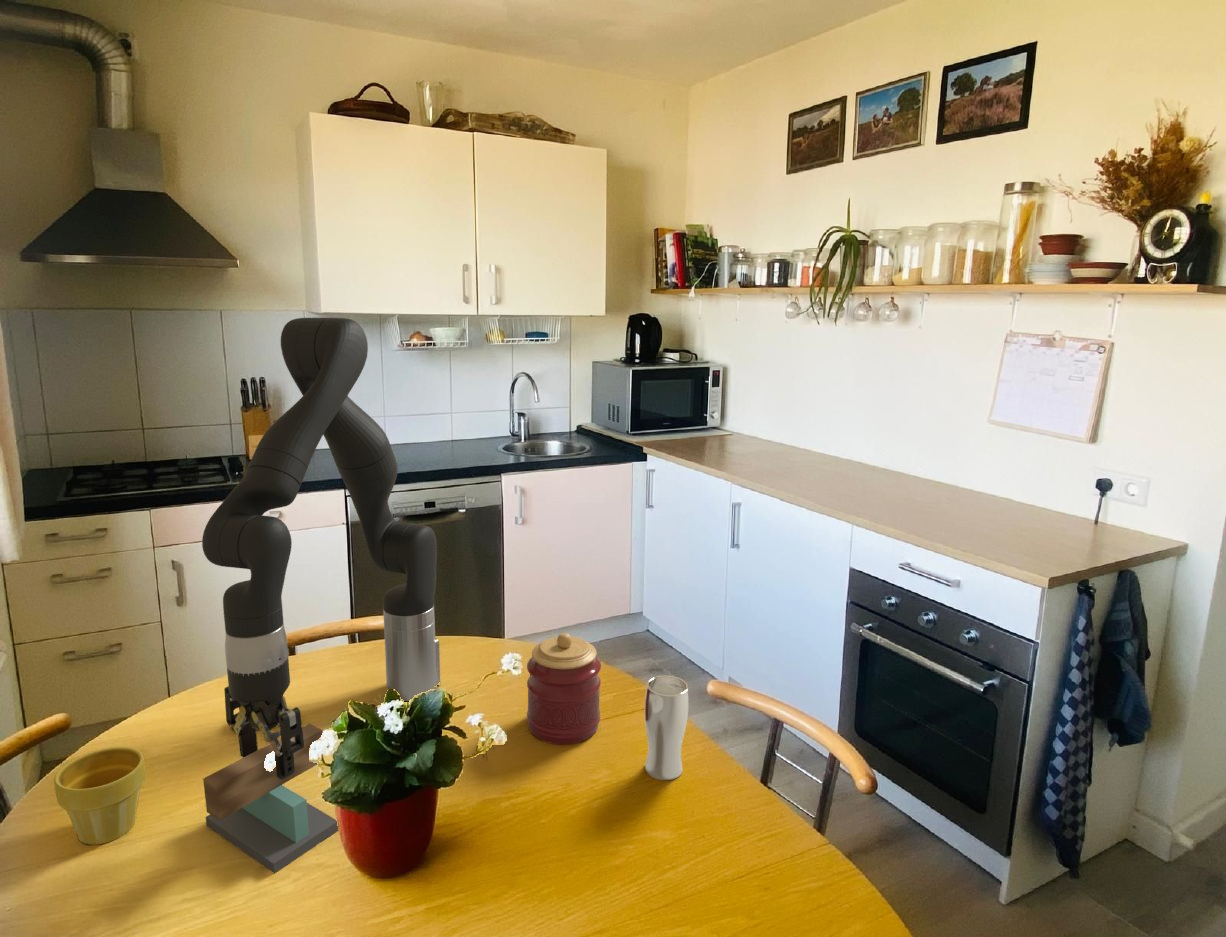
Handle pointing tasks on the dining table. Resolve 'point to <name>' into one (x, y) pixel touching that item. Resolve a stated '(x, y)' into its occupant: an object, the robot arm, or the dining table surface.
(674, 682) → the beer glass
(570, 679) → the canister
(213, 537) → the robot arm
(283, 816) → the ridge stand
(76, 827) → the plant pot
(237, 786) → the walnut beam
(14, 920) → the dining table surface
